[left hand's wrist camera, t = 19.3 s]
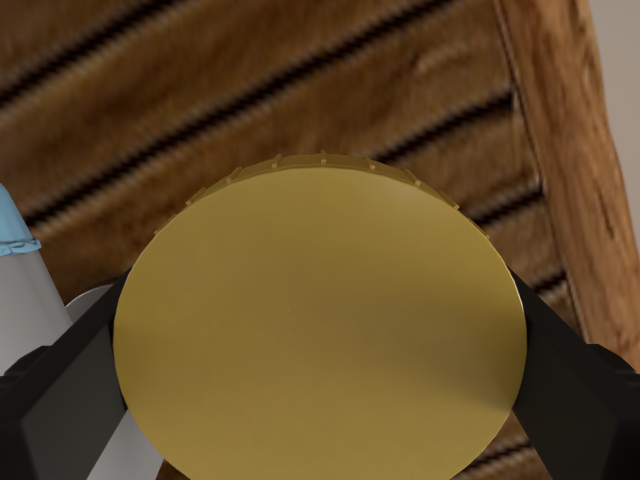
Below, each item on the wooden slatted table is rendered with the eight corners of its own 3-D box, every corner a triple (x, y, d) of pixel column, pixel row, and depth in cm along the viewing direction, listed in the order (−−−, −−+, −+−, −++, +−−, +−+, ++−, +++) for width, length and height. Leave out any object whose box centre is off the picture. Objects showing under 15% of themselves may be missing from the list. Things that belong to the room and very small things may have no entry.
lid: (242, 66, 10) (225, 63, 8) (576, 274, 12) (623, 309, 10) (87, 379, 13) (50, 427, 11) (371, 505, 15) (378, 564, 13)
